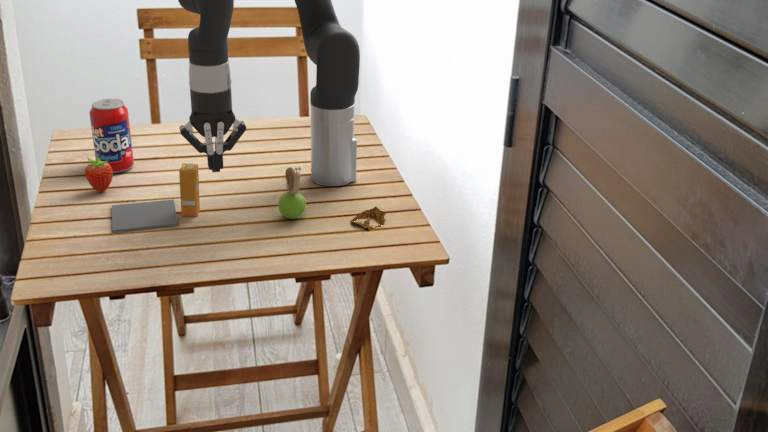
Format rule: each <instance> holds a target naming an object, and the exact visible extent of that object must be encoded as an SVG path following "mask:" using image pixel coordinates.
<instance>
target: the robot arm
mask: <svg viewBox="0 0 768 432" xmlns="http://www.w3.org/2000/svg"><path fill="white" fill-rule="evenodd" d="M178 3H179V5H180V6H181V7H182V8H183V9H184V10H185V11H187V12H190V13H194V14H197V15H199V25H198V27H194V28H193V29H191V30H190V31H189V32H188V36H187V44H188V45H187V47H188V63H189V65H188V66H189V67H188V80H189V82H188V84H189V94H190V108H191V113H190V115H189V121H188V122H186V123H185V124H184V125H180V126H179V133H180V135H181V136H182V137H183V138H184V139H185V140H186V141H187V143H189V144H190V146H192V147H193V148H194V149H195V150H196V151H197V153H199V154H206V158H207V159H206V160H207V166H208V169H209V171H211V173H220V172H221V170H223V169H224V154H225V152H227V151H231V150H233V149H234V147H235V145H236V144H237V143H238V141H239V140H240V138H241V137H242V136H243V135H244V133H245V132H246V130H247V125H246V123H245V121H243V120H241V121H240V119H239V120H238V119H237V118H236V116H235V113H234V112H233V102H232V101H233V99H232V97H233V96H232V77H231V69H230V65H229V48H228V36H229V32H230V29H231V23H232V17H233V12H234V6H235V5H234V4H235V1H234V0H178ZM294 4H295V7H296V10H297V14H298V19H299V23H300V29H301V30H300V31H301V34H302V40H303V45H304V50H305V53H306V54H307V56H308V59H310V61H311V62H312V63H313V64H314V65H316V75H315V76H316V77H315V78H316V80H315V86H313V87H312V88H311V90H310V98H309V100H310V102H309V103H310V172H311V173H310V174H311V175H310V176H311V177H310V178H311V180H312V182H313V183H315V184H317V185H320V186H326V187H340V186H345V185H348V184H350V183H352V182H357V165H358V164H357V160H358V158H357V154H358V153H357V151H358V149H357V147H358V141H357V138H356V137H355V106H356V105H355V103H356V102H355V99H356V96H357V93H358V89H359V83H360V82H359V81H360V67H361V66H360V65H361V63H360V62H361V61H360V60H361V56H360V55H361V52H360V51H361V50H360V46H359V42H358V40H357V38H356V37H355V36H354V35H353V34H352V33H351V32H349V31H348V30H347V29H345V28H343V27H342V25H341V24H340V21H339V19H338V16H337V14H336V10H335V7H334V5H333V1H332V0H294ZM231 127H232V131H231V133H229V135H228V136H227V138H226V139H225V140H224V136H226V134H228V132H229V130H230V129H231ZM194 130H196V132H197V133H199V135H201V136H202V137H203V138H204V142H205V144H204V143H202V141H200V140H199V139H198V138H197V136H196V135H194ZM213 138H214V144H213Z"/></svg>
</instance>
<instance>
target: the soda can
mask: <svg viewBox="0 0 768 432" xmlns="http://www.w3.org/2000/svg"><path fill="white" fill-rule="evenodd" d="M124 103H125V102H124V101H123V100H121V99H119V98H104V99H99V100H96V101H93V102H92V103H91V108H90V110H89V112H88V113H89V120H90V122H89V123H90V127H91V135H92V142H93V150H94V157H95V158H94V159H95V160H96V159H97V158H96V156H98V157H99V158H100V160H101V161H107V160H108V161H107V163H108V164H110V166H111V167H112V170H113V174H119V173H120V174H121V173H124V172H127V171H128V170H130V169H131V168H132V167H133V166H134V164H135V163H134V161H135V159H134V151H133V145H132V144H133V142H132V134H131V127H130V125H131V124H130V117H129V110H128V108H127V106H126V105H125V104H124Z"/></svg>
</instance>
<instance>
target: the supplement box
mask: <svg viewBox="0 0 768 432" xmlns="http://www.w3.org/2000/svg"><path fill="white" fill-rule="evenodd" d="M178 173H179V175H178V176H179V195H180V197H179V198H180V211H181V213H180V214H181V216H182V217H198V215H199V213H200V209H201V208H200V207H201V204H200V181H199V179H200V177H199V176H200V175H199V164H196V163H188V162H187V163H185V162H184V163H183V162H182V163H181V167H180V169H179V172H178Z"/></svg>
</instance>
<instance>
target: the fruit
mask: <svg viewBox="0 0 768 432" xmlns="http://www.w3.org/2000/svg"><path fill="white" fill-rule="evenodd" d="M96 158H97V159H96ZM96 158H95V160H94V159H91V158H89V157H87V158H86V159H87V161H89V163H87V165H86V167H85V170H84V175H85V178H86V181H87V182H88V184H89V185H90V186H91V187H92V188H93V190H95V191H96V192H100V193H103V192H105V191H107V189H108V188H109V187H110V185H111V183H112V180H113V176H114V173H113V170H112V167H111V166H110V164H108V163H107V161H108V160H107V161H101V160H100V158H99V157H98V156H96Z"/></svg>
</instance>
